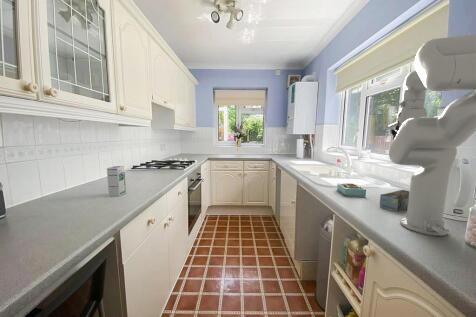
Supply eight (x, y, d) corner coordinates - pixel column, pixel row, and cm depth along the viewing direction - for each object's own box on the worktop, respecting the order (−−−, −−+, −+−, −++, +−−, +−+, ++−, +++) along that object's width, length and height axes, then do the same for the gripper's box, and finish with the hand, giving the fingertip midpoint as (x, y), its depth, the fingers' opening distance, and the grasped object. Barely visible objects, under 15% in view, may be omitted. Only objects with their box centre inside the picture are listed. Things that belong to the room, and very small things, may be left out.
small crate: (359, 194, 113) (359, 186, 113) (347, 193, 114) (348, 186, 113) (353, 190, 120) (354, 183, 119) (342, 190, 121) (343, 183, 120)
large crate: (365, 196, 111) (366, 189, 110) (344, 195, 112) (345, 188, 111) (356, 190, 122) (356, 184, 122) (337, 190, 123) (337, 183, 123)
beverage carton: (378, 206, 97) (379, 192, 96) (400, 201, 105) (401, 188, 105) (397, 212, 90) (399, 197, 89) (419, 206, 98) (421, 192, 98)
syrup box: (119, 196, 105) (118, 167, 103) (108, 196, 105) (106, 167, 103) (126, 193, 111) (124, 166, 109) (115, 192, 111) (113, 165, 109)
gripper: (396, 104, 87) (391, 145, 89) (442, 104, 85) (436, 146, 87) (385, 106, 95) (382, 144, 97) (427, 106, 93) (423, 145, 95)
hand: (408, 145), depth 92 cm, fingers open, 9 cm apart
